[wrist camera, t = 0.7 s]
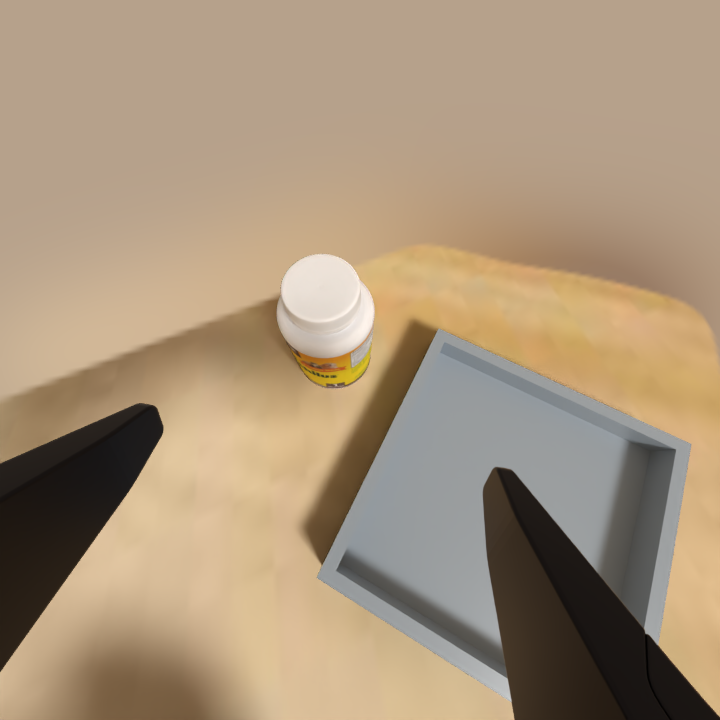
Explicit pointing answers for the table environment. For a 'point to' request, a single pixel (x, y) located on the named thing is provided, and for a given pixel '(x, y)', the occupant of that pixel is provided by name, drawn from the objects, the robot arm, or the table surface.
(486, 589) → the tray
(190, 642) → the table surface
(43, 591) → the robot arm
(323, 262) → the supplement bottle
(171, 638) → the table surface
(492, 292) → the table surface
